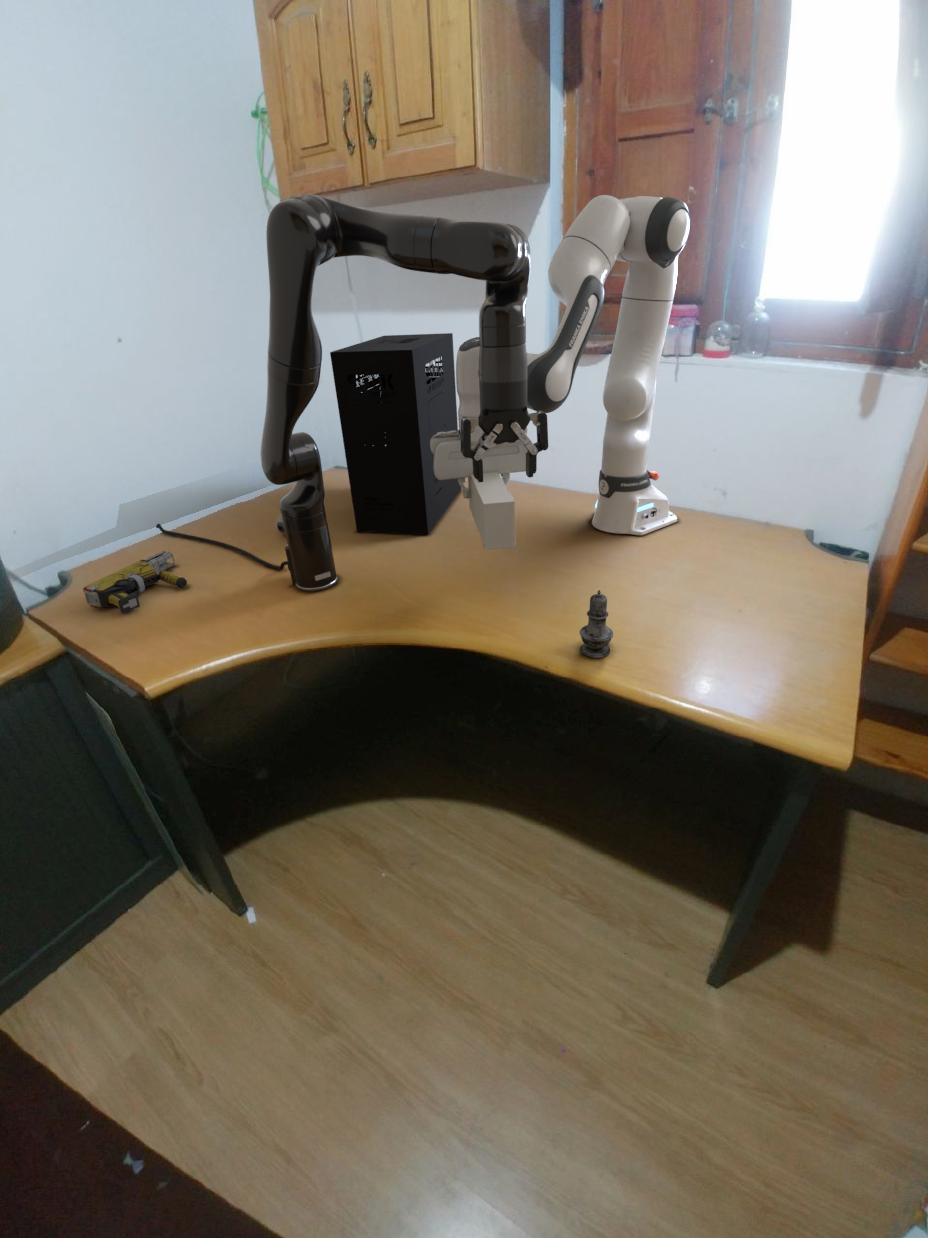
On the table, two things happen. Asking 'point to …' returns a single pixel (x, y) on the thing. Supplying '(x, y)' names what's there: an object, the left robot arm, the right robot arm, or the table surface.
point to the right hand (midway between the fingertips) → (484, 495)
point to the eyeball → (280, 524)
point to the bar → (493, 511)
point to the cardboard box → (396, 429)
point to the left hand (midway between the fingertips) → (505, 478)
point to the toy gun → (131, 583)
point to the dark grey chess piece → (596, 628)
